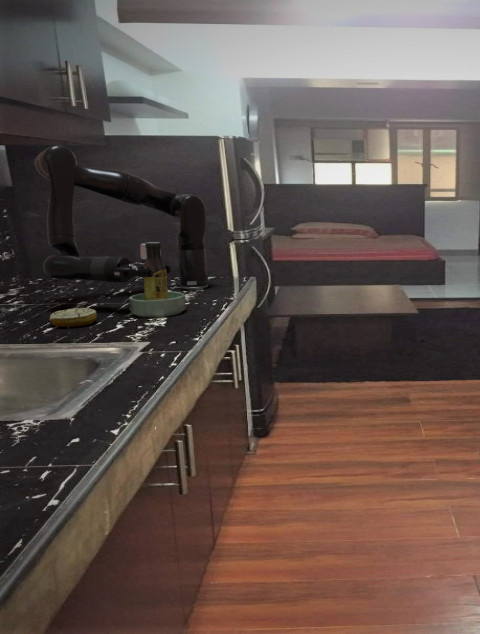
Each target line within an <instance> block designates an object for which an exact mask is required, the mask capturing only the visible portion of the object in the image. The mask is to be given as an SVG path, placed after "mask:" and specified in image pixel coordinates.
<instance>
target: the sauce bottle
mask: <svg viewBox="0 0 480 634" xmlns="http://www.w3.org/2000/svg"><path fill="white" fill-rule="evenodd" d="M145 247H146V251H147V260H146V262H145V263H144V266H143V269H151V270H152V271H153V277H143V290H144V292H143V293H145V301H154V300H166V299H168V292H169V291H168V289H169V288H168V273H167V272H166V268H165V266H164V265H165V264H164V261H163V259H162V251H161V252H160V250H161V247H162V245H161V242H160V241H146V242H145Z"/></svg>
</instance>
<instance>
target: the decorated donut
mask: <svg viewBox="0 0 480 634" xmlns="http://www.w3.org/2000/svg"><path fill="white" fill-rule="evenodd" d="M97 317H98V314H97V310H95V309H93V308H89V307H73V308H67V309H63V310H62V309H61V310H57V311H55V312H52V314H51V313H50V316H49V321H50V323H51V325H52V326H55V327H61V328H65V327H66V328H76V327H83V326H89V325H91V324H93V323H94V322H95V321H96V319H97Z"/></svg>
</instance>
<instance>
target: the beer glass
mask: <svg viewBox="0 0 480 634" xmlns="http://www.w3.org/2000/svg"><path fill="white" fill-rule="evenodd" d="M145 243H146V242H145ZM145 243H140V244H139V245H140V261H141V263H145V262H146V260H147V251H146V247H145ZM160 252H161V253H162V251H161V249H160Z"/></svg>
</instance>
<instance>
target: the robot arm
mask: <svg viewBox="0 0 480 634" xmlns="http://www.w3.org/2000/svg"><path fill="white" fill-rule="evenodd" d="M34 168H35V169H36V171H37V173H38V174H39V175H40V176H42V177H44V178H45V179H46V180H49V186H50V189H49V191H50V192H49V202H48V208H47V213H46V214H47V215H46V231H47V242H48V245H49V246H50V247H51V248H54V249H55V250H56V251H57V252H58V254H53V255H50V256H47V258H45V260H44V261H43V263H42V269H43V272H44V273H45V275H47V276H48V277H50V278H52V279H56V280H57V279H58V280H70V281H73V280H76V279H78V280H85V281H99V282H103V283H125V284H126V283H128V282H130V281H131V280H133V279H139V278H144V277H153V271H152V270H151V269H143V266H144V263H142V262H132V260H131V259H130V258H128V257H126V256H107V255H105V256H81V254H80V251H79V247H78V245H77V243H76V231H75V217H74V199H75V198H74V194H75V187H79V188H82V189H85V190H88V191H91V192H93V193H97V194H100V195H102V196H106V197H109V198H112V199H115V200H118V201H121V202H124V203H127V204H130V205H134V206H138V207H142V208H148V209H152V210H153V209H154V210H156V211H159V212H161V213H163V214H166V215H168V216H171V217H173V218H175V219H178V220H179V230H178V232H177V233H176V247H177V259H178V270H179V282H180V287H179V288H180V289H181V290H185V291H197V290H204V289H207V288H209V283H210V282H209V271H208V269H209V268H208V261H207V254H206V242H205V241H206V240H205V235H206V232H207V215H206V213H207V212H206V206H205V203H204V200H203V199H201V198H200V197H199V196H197V195H194V194H184V193H183V194H181V193H177V192H172V191H168V190H165V189H162V188H160V187H158V186H156V185H154V184H152V183H151V182H149V181H147V180H146V179H143V178H141V177H139V176H137V175H134V174H132V173H129V172H125V171H122V170H118V169H111V168H105V167H94V166H89V165H86V164H82V163H80V162H78V161H77V157H76V156H75V154H74V152H73V151H72V150H71V149H69V148H68V147H66V146H65V145H60V144H56V145H51V146H49V147H47V148H45V149H44V150H43V151H41V152H40V153H39V154H38V155H37V156H36V157H35V159H34ZM164 266H165V268H166V272H167V274H170V273H172V267H171V265H169V264H164Z"/></svg>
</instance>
